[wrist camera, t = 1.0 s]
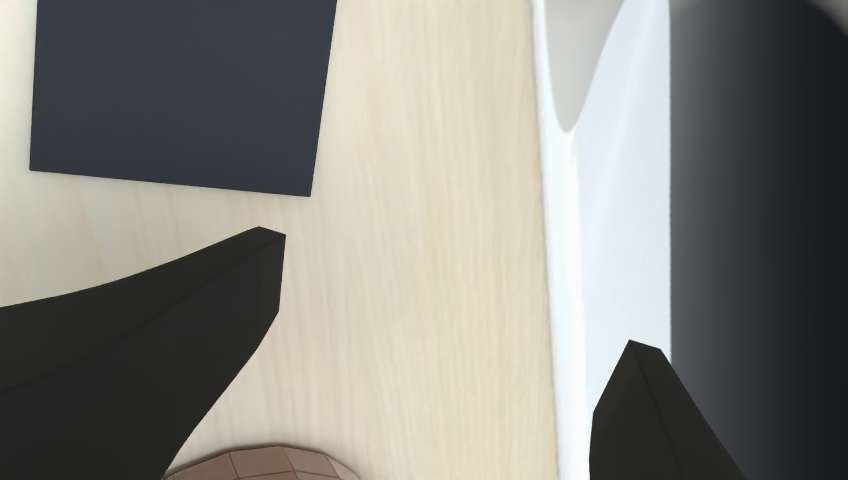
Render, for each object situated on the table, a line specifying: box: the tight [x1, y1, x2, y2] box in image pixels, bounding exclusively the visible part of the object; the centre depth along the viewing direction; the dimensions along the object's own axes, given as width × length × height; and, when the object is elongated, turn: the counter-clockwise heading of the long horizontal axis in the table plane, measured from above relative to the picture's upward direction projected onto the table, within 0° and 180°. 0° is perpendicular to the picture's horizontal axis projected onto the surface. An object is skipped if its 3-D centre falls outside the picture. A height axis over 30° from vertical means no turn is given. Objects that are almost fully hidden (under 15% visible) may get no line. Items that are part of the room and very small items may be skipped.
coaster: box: [29, 0, 337, 197], centre depth 22 cm, size 10×10×1 cm
